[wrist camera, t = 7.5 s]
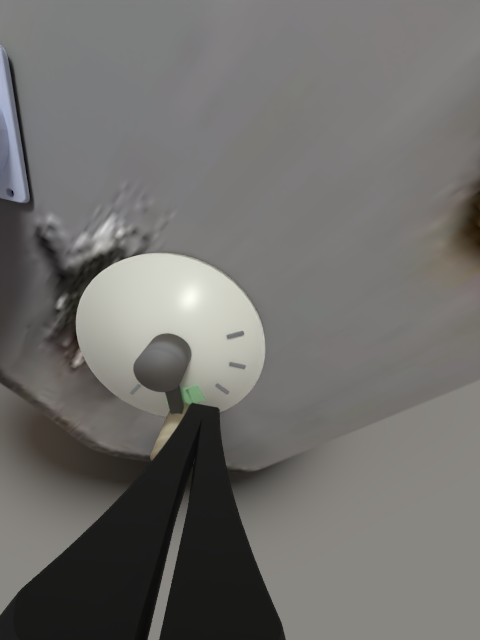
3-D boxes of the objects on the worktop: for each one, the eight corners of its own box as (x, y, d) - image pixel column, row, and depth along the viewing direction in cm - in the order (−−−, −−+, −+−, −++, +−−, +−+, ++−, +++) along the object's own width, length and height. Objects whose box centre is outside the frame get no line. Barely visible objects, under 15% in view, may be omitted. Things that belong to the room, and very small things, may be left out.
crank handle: (144, 334, 18) (110, 371, 14) (187, 332, 18) (167, 370, 14) (167, 418, 22) (146, 469, 18) (203, 418, 22) (191, 469, 17)
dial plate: (90, 393, 23) (81, 402, 22) (76, 229, 16) (63, 230, 15) (242, 423, 24) (241, 433, 23) (288, 278, 17) (290, 283, 16)
